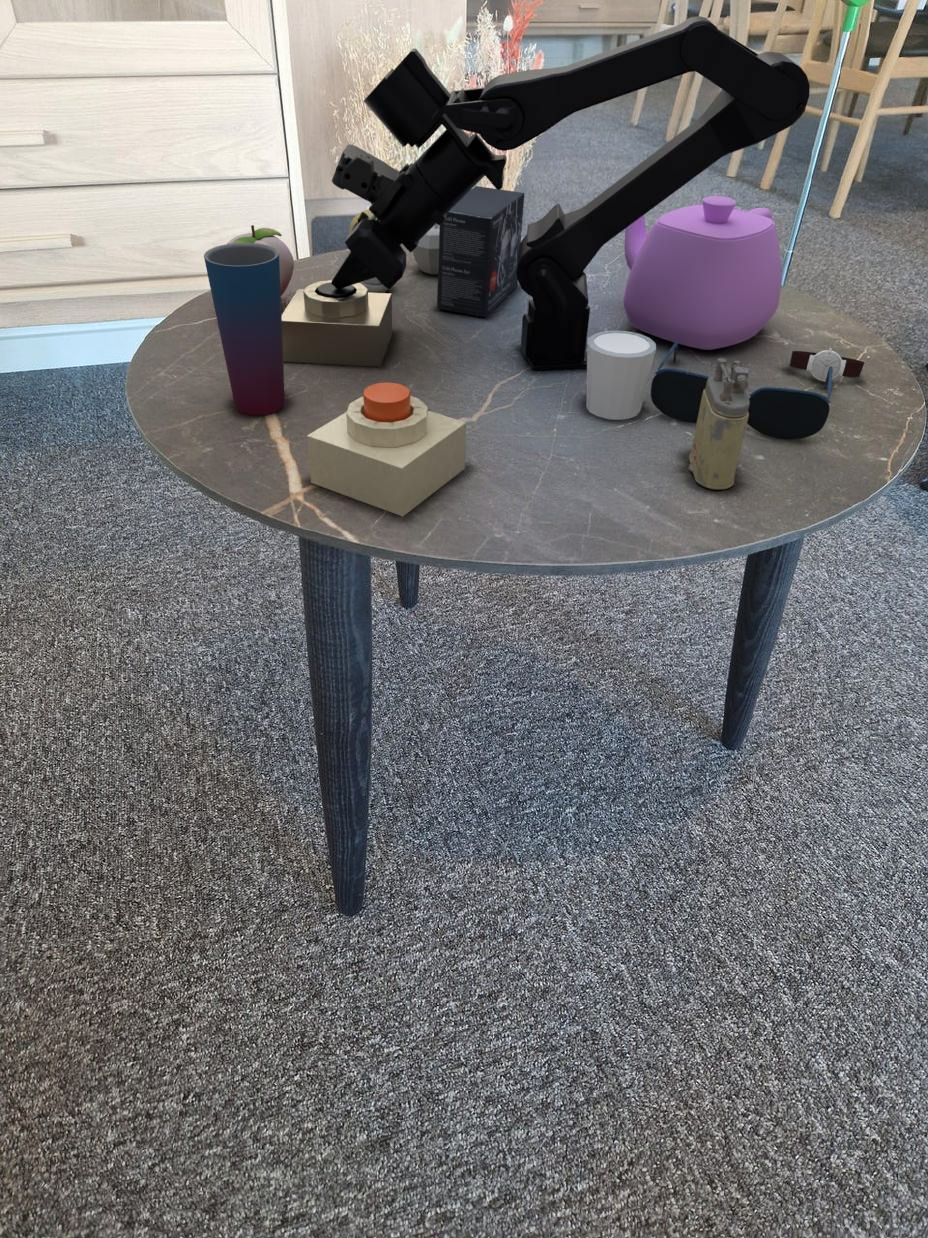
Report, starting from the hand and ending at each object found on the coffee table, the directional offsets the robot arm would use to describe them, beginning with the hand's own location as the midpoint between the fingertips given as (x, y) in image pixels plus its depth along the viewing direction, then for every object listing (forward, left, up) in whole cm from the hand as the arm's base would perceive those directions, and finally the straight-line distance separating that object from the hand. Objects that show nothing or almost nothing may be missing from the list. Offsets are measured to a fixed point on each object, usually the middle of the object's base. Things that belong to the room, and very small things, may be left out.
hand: (334, 285), depth 103 cm
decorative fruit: (+9, -13, -7) cm, 17 cm away
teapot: (-43, -1, -7) cm, 44 cm away
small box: (-19, -14, -7) cm, 25 cm away
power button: (-3, +30, -1) cm, 30 cm away
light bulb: (-6, -18, -7) cm, 20 cm away
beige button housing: (-3, +30, -7) cm, 31 cm away
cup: (+9, +14, -7) cm, 18 cm away
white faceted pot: (-15, -25, -7) cm, 30 cm away
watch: (-53, +14, -7) cm, 55 cm away
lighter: (-32, +33, -7) cm, 47 cm away
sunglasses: (-41, +19, -7) cm, 46 cm away
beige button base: (0, 0, -7) cm, 7 cm away
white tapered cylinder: (-27, +19, -7) cm, 34 cm away
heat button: (0, 0, -2) cm, 2 cm away
